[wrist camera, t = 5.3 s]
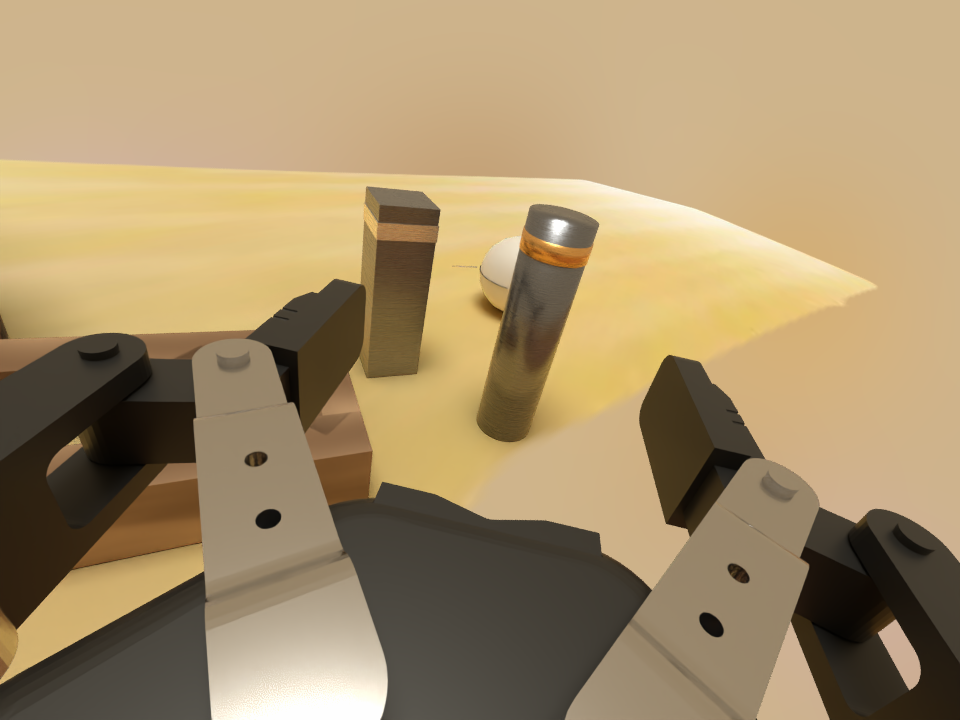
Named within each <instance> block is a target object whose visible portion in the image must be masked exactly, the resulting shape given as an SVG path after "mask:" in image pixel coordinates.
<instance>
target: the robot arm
mask: <svg viewBox="0 0 960 720" xmlns="http://www.w3.org/2000/svg"><path fill="white" fill-rule="evenodd" d="M365 306H366V289H365V286H364V285H361V284H356V283H352V282H348V281H343V280H339V279H334V280H333V281H332V282H330V283H329V284H328V285H327V286H326V287H325V288H324V289H323V290H321V291H320V292H319V293H314V292H310V293H308V294H305V295H302V296H299V297H296V298H294V299H293V300H291V301H290V302H289V303H288V304H287V305H285V306H284V307H283V309H282V310H281V309H280V310H279V311H278V312H277V313H276V314H274V316H273V317H271V318H270V319H268V320H267V321H266V322H265V323H264V324H262V325H261V326H260V327H259V328H257V329H256V330H255V331H254V332H253V333H251V334H250V335H249V336H248V337H247V338H245V339H237V338H236V339H225V340H220V341H216V342H213V343H210V344H208V345H205V346H204V347H202V348H200V349H199V350H198V351H197V352H196V353H195V354H194V356H193V358H192V359H154V358H149V355H148V351H147V347H146V344H145V343H144V341H143V340H141V339H140V338H138V337H135V336H132V335H129V334H122V333H102V334H94V335H88V336H84V337H80V338H77V339H74V340H71V341H69V342H67V343H65V344H63V345H61V346H59V347H57V348H56V349H54V350H52V351H50V352H49V353H47V354H45V355H44V356H42V357H40V358H38V359H37V360H35V361H33V362H31V363H30V364H28V365H26V366H25V367H23V368H21V369H19V370H18V371H16V372H14V373H12V374H11V375H9V376H7V377H6V378H4V379H2V380H0V679H1V678H2V676H3V675H4V674H5V672H6V671H7V669H8V668H9V666H10V664H11V662H12V661H13V659H14V656H15V654H16V651H17V647H18V633H17V631H16V630H17V629H18V627H19V626H20V625H21V624H22V623H23V622H24V621H25V620H26V619H27V618H28V617H29V615H30V614H31V613H32V612H33V611H34V610H35V609H36V608H37V607H38V606H39V605H40V603H41V602H42V601H43V600H44V599H45V598H46V597H47V596H48V595H49V594H50V592H51V591H52V590H53V589H54V588H55V587H56V586H57V585H58V584H59V583H60V582H61V580H62V579H63V578H64V577H65V576H66V575H67V574H68V573H69V572H70V571H71V569H72V568H73V567H74V566H75V565H76V564H77V563H78V562H79V561H80V560H81V559H82V557H83V556H84V555H85V554H86V553H87V552H88V551H89V550H90V549H91V548H92V547H93V545H94V544H95V543H96V542H97V541H98V540H99V539H100V538H101V537H102V536H103V534H104V533H105V532H106V531H107V530H108V529H109V528H110V527H111V526H112V525H113V524H114V522H115V521H116V520H117V519H118V518H119V517H120V516H121V515H122V514H123V513H124V511H125V510H126V509H127V508H128V507H129V506H130V505H131V504H132V503H133V502H134V501H135V499H136V498H137V497H138V496H139V495H140V494H141V493H142V492H143V491H144V490H145V489H146V487H147V486H148V485H149V484H150V483H151V482H152V481H153V480H154V479H155V478H156V476H157V475H158V474H159V473H160V472H161V471H162V470H163V469H164V468H165V467H166V466H167V464H171V463H196V465H197V478H198V492H199V505H200V519H201V533H202V546H203V560H204V572H202V573H200V574H198V575H197V576H195V577H193V578H191V579H189V580H188V581H186V582H184V583H182V584H180V585H178V586H177V587H175V588H173V589H171V590H169V591H168V592H166V593H164V594H162V595H160V596H159V597H157V598H155V599H153V600H151V601H150V602H148V603H146V604H144V605H142V606H140V607H139V608H137V609H135V610H133V611H131V612H130V613H128V614H126V615H124V616H122V617H121V618H119V619H117V620H115V621H113V622H111V623H110V624H108V625H106V626H104V627H102V628H101V629H99V630H97V631H95V632H93V633H92V634H90V635H88V636H86V637H84V638H83V639H81V640H79V641H77V642H75V643H73V644H72V645H70V646H68V647H66V648H64V649H63V650H61V651H59V652H57V653H55V654H54V655H52V656H50V657H48V658H46V659H44V660H43V661H41V662H39V663H37V664H35V665H34V666H32V667H30V668H28V669H26V670H25V671H23V672H21V673H19V674H18V675H16V676H14V677H13V678H11V679H9V680H7V681H6V682H4V683H2V684H1V685H0V720H757V719H756V716H757V714H758V711H759V708H760V705H761V703H762V700H763V697H764V694H765V691H766V688H767V686H768V683H769V680H770V677H771V674H772V672H773V669H774V666H775V663H776V660H777V658H778V654H779V652H780V649H781V646H782V643H783V640H784V638H785V635H786V632H787V629H788V626H789V624H790V621H791V623H792V625H793V628H794V630H795V633H796V635H797V638H798V640H799V643H800V646H801V648H802V650H803V653H804V655H805V658H806V661H807V663H808V666H809V668H810V671H811V673H812V676H813V678H814V681H815V683H816V686H817V688H818V691H819V693H820V696H821V698H822V701H823V703H824V706H825V708H826V711H827V714H828V716H829V718H830V720H960V563H959V562H958V560H957V559H956V558H955V556H954V555H953V554H952V553H951V552H950V551H949V549H948V548H947V547H946V546H945V545H944V544H943V543H942V542H941V541H940V540H939V539H937V538H936V537H935V536H934V535H933V534H931V533H930V532H929V531H927V530H926V529H924V528H923V527H921V526H920V525H918V524H917V523H915V522H913V521H912V520H910V519H908V518H906V517H904V516H901V515H899V514H897V513H894V512H891V511H887V510H882V509H873V510H870V511H869V512H868V513H867V514H866V515H865V516H864V517H863V518H862V519H861V520H860V521H859V522H858V523H857V524H856V523H854V522H852V521H850V520H847V519H845V518H843V517H841V516H838V515H836V514H834V513H832V512H829V511H827V510H825V509H822V508H820V507H819V500H818V497H817V495H816V494H815V492H814V491H813V489H812V488H811V487H810V486H809V485H808V484H807V483H806V482H805V481H804V480H803V479H802V478H801V477H799V476H798V475H797V474H795V473H794V472H792V471H791V470H789V469H787V468H786V467H784V466H782V465H780V464H777V463H775V462H772V461H769V460H766V459H765V458H764V456H763V454H762V453H761V451H760V449H759V447H758V446H757V444H756V442H755V440H754V439H753V437H752V435H751V434H750V432H749V430H748V428H747V427H746V426H744V421H743V420H742V418H741V416H740V415H738V414H737V413H738V411H737V409H736V408H735V406H734V404H733V403H732V401H731V399H730V398H729V397H728V396H727V395H726V394H725V393H724V392H723V391H722V390H721V389H720V388H718V387H717V386H716V385H715V384H712V383H711V381H710V379H709V378H708V376H707V374H706V372H705V370H704V368H703V367H702V365H701V363H700V362H698V361H694V360H690V359H685V358H681V357H677V356H672V355H668V356H667V357H666V358H665V359H664V360H663V362H662V364H661V366H660V368H659V370H658V372H657V374H656V376H655V378H654V380H653V382H652V384H651V386H650V388H649V391H648V393H647V395H646V397H645V399H644V401H643V403H642V407H641V410H640V417H639V421H640V428H641V431H642V435H643V439H644V442H645V446H646V450H647V454H648V458H649V462H650V465H651V469H652V473H653V476H654V480H655V484H656V488H657V491H658V495H659V499H660V503H661V507H662V511H663V514H664V518H665V522H666V524H669V525H673V526H677V527H681V528H686V529H688V532H689V536H690V538H689V540H688V541H687V542H686V544H685V545H684V547H683V548H682V550H681V551H680V552H679V554H678V555H677V556H676V558H675V559H674V561H673V562H672V564H671V565H670V566H669V568H668V569H667V571H666V572H665V573H664V575H663V576H662V577H661V579H660V580H659V582H658V583H657V584H656V586H655V587H654V589H653V590H651V589H650V588H649V587H648V586H647V585H646V584H645V583H644V581H642V580H641V579H640V578H639V577H638V576H636V575H635V574H634V573H633V572H632V571H631V570H629V569H628V568H626V567H625V566H624V565H622V564H621V563H619V562H618V561H616V560H614V559H612V558H611V557H609V556H608V555H606V554H603V553H602V552H601V544H600V535H599V533H596V532H592V531H588V530H584V529H579V528H575V527H571V526H566V525H562V524H558V523H554V522H549V521H542V520H540V521H538V520H536V521H535V520H490V519H486V518H484V517H482V516H480V515H477V514H475V513H473V512H471V511H469V510H467V509H465V508H463V507H461V506H459V505H456V504H454V503H452V502H450V501H448V500H446V499H444V498H442V497H440V496H438V495H435V494H431V493H427V492H423V491H419V490H415V489H410V488H406V487H402V486H398V485H393V484H389V483H385V482H382V484H381V486H380V488H379V491H378V493H377V496H376V498H365V499H354V500H348V501H343V502H339V503H335V504H332V505H329V506H328V503H327V500H326V497H325V494H324V491H323V488H322V485H321V482H320V479H319V476H318V473H317V470H316V467H315V464H314V461H313V458H312V455H311V452H310V449H309V446H308V443H307V439H306V436H305V433H306V431H307V430H308V428H309V427H310V426H311V424H312V423H313V421H314V420H315V419H316V417H317V416H318V414H319V413H320V412H321V410H322V409H323V407H324V406H325V404H326V403H327V402H328V400H329V399H330V397H331V396H332V395H333V393H334V392H335V390H336V389H337V388H338V386H339V385H340V383H341V382H342V380H343V379H344V378H345V376H346V375H347V373H348V372H349V371H350V369H351V368H352V366H353V365H354V364H355V362H356V361H357V359H358V357H359V355H360V352H361V349H362V345H363V340H364V324H365ZM77 436H79V438H80V441H81V443H82V446H83V447H81V448H80V449H79V450H78V451H77V452H75V453H74V454H73V455H72V456H71V457H69V458H68V459H67V460H66V461H65V462H64V463H62V464H61V465H60V466H59V467H58V468H56V469H55V470H54V471H53V472H52V473H50V474H49V475H48V476H47V470H48V467H49V464H50V462H51V460H52V459H53V458H54V456H55V455H56V454H57V453H58V452H59V451H60V450H61V449H62V448H63V447H65V446H66V445H67V444H68V443H70V442H71V441H72V440H73V439H75V438H76V437H77ZM46 476H47V477H46ZM895 619H896V620H897V621H898V623H899V625H900V626H901V628H902V630H903V631H904V633H905V635H906V637H907V638H908V640H909V642H910V643H911V645H912V646H913V648H914V650H915V652H916V654H917V656H918V658H919V661H920V666H921V675H920V679H919V682H918V684H917V685H916V686H915V687H914V688H913V689H911V690H909V689H908V688H907V686H906V684H905V682H904V681H903V678H902V677H901V675H900V673H899V671H898V670H897V668H896V666H895V664H894V662H893V661H892V658H891V657H890V655H889V653H888V651H887V649H886V648H885V646H884V644H883V642H882V640H881V639H880V637H879V635H878V632H879V631H881V630H882V629H884V628H885V627H886V626H887V625H889V624H890V623H891V622H893V621H894V620H895Z"/></svg>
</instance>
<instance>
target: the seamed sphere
mask: <svg viewBox="0 0 960 720" xmlns="http://www.w3.org/2000/svg"><path fill="white" fill-rule="evenodd" d="M520 240H521V236H516V237H510V238H505V239H504V240H502V241H500V242H498V243H497V244H495V245H494V246H492V248H491V249H490V250H489V251H488V252H487V253H486V255H485V257H484V260H483V262H482V265H481V266H480V283H481V287H482V290H483V293H484V294H485V296H486V298H487V299H488V300H489V301H490V303H491V304H492V305H493V306H495V307H496V308H498V309H500V310H502V311H504V308H505V304H506V300H507V296H508V292H509V288H510V284H511V280H512V276H513V272H514V268H515V264H516V260H517V256H518V252H519V248H520V247H519V244H520ZM452 267H474V266H452ZM475 268H477V267H475Z"/></svg>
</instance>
